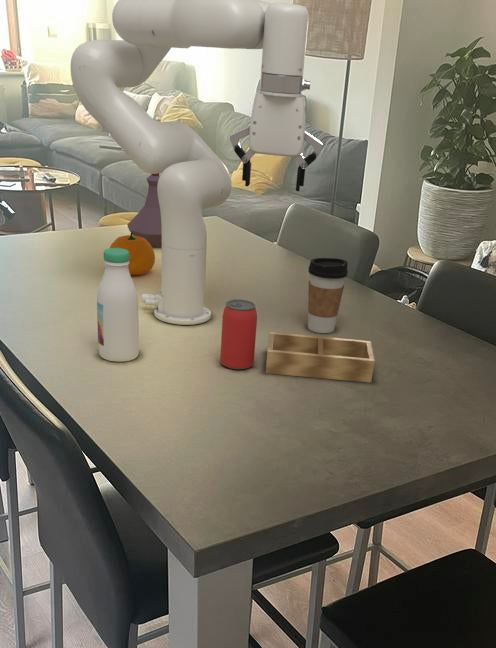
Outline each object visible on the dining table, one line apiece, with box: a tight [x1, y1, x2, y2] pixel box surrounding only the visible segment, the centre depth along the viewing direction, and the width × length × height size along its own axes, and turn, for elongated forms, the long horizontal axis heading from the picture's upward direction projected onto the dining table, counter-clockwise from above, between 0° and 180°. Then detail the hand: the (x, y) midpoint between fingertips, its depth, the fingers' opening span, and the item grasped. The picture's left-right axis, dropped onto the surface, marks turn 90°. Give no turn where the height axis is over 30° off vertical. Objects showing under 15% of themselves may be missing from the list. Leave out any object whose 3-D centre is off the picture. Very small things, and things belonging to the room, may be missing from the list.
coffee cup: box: [307, 257, 349, 334], centre depth 168 cm, size 8×8×15 cm
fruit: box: [109, 232, 156, 276], centre depth 195 cm, size 12×12×10 cm
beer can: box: [219, 298, 258, 371], centre depth 148 cm, size 7×7×12 cm
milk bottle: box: [96, 247, 140, 363], centre depth 145 cm, size 8×8×20 cm
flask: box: [127, 173, 162, 248], centre depth 218 cm, size 16×16×20 cm
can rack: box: [265, 331, 376, 384], centre depth 152 cm, size 20×11×4 cm, turn 87°
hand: (272, 187), depth 148 cm, fingers open, 9 cm apart
